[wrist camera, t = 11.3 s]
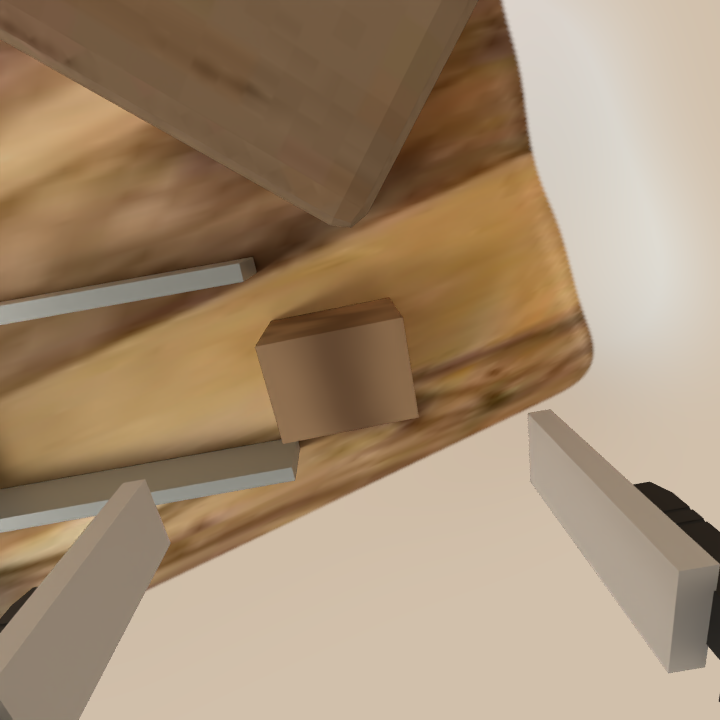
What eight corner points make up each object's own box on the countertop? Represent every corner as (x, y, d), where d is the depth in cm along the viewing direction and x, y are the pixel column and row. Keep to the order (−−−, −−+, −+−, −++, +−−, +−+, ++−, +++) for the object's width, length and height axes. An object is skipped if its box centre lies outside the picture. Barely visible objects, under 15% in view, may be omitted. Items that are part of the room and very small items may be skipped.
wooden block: (259, -53, 22) (-287, -2002, 3) (424, 60, 24) (786, -588, 5) (187, 137, 24) (-352, -159, 5) (341, 224, 26) (355, 240, 7)
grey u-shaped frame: (-46, 509, 31) (-99, 550, 27) (-152, 329, 26) (-234, 347, 23) (300, 448, 31) (295, 480, 27) (252, 256, 26) (238, 263, 23)
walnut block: (292, 401, 30) (282, 444, 24) (271, 320, 28) (254, 346, 22) (402, 379, 30) (418, 417, 24) (389, 297, 28) (402, 317, 22)
